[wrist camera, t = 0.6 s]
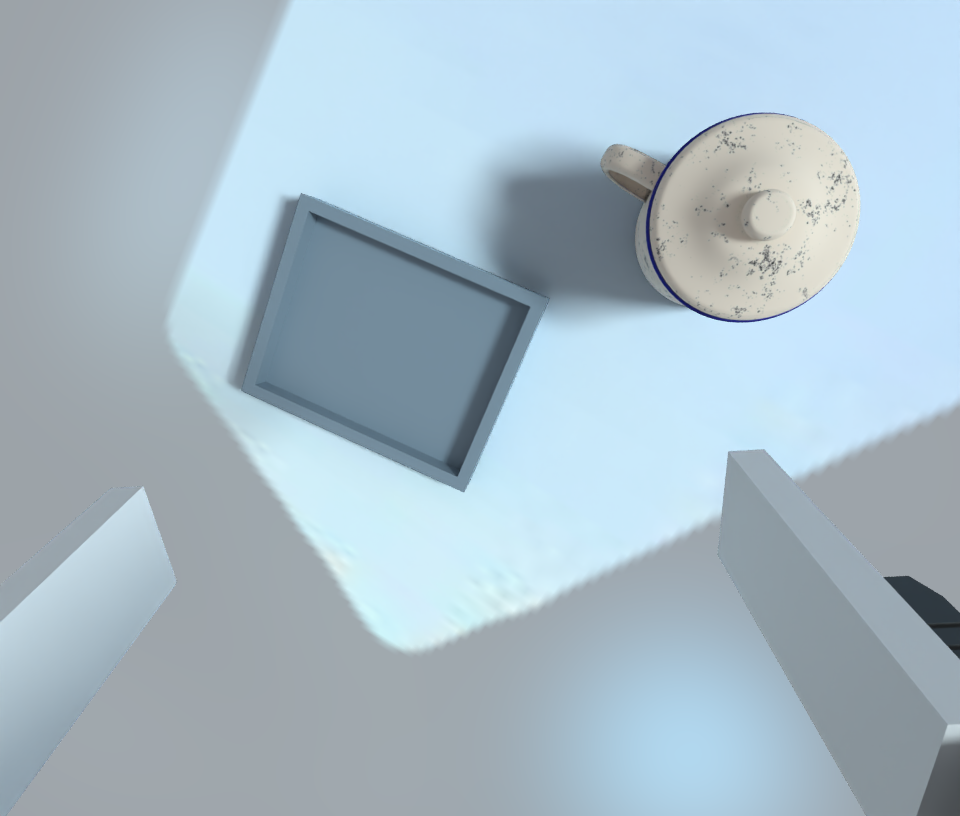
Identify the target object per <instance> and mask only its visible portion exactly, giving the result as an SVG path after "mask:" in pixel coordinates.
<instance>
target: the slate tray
mask: <svg viewBox="0 0 960 816" xmlns="http://www.w3.org/2000/svg"><path fill="white" fill-rule="evenodd" d="M549 299H550V298H548V297H545V296H543V295H541V294H538V293H536V292H534V291H531V290H529V289H527V288H524V287H522V286H520V285H517V284H515V283H513V282H510V281H508V280H506V279H503V278H501V277H499V276H496V275H494V274H492V273H489V272H487V271H485V270H482V269H480V268H478V267H475V266H473V265H471V264H468V263H466V262H464V261H461V260H459V259H457V258H455V257H452V256H450V255H448V254H445V253H443V252H441V251H438V250H436V249H434V248H431V247H429V246H427V245H424V244H422V243H420V242H417V241H415V240H413V239H410V238H408V237H406V236H403V235H401V234H399V233H396V232H394V231H392V230H389V229H387V228H385V227H382V226H380V225H378V224H375V223H373V222H371V221H368V220H366V219H364V218H361V217H359V216H357V215H354V214H352V213H350V212H347V211H345V210H343V209H340V208H338V207H336V206H333V205H331V204H329V203H326V202H324V201H322V200H320V199H317V198H315V197H312V196H308V195H305V194H302V193H301V195H300V198H299V201H298V205H297V208H296V211H295V214H294V218H293V221H292V224H291V228H290V231H289V234H288V238H287V241H286V244H285V247H284V251H283V254H282V257H281V261H280V264H279V267H278V271H277V274H276V277H275V281H274V284H273V287H272V290H271V294H270V297H269V300H268V304H267V307H266V310H265V314H264V317H263V320H262V323H261V327H260V330H259V333H258V337H257V340H256V343H255V347H254V350H253V353H252V356H251V360H250V363H249V366H248V370H247V373H246V376H245V380H244V383H243V386H242V389H241V391H243V392H245V393H247V394H249V395H251V396H254V397H256V398H258V399H260V400H262V401H265V402H267V403H269V404H271V405H273V406H276V407H278V408H280V409H282V410H284V411H287V412H289V413H291V414H293V415H295V416H298V417H300V418H302V419H304V420H306V421H308V422H311V423H313V424H315V425H317V426H319V427H322V428H324V429H326V430H328V431H330V432H333V433H335V434H337V435H339V436H341V437H344V438H346V439H348V440H350V441H352V442H354V443H357V444H359V445H361V446H363V447H365V448H368V449H370V450H372V451H374V452H376V453H379V454H381V455H383V456H385V457H387V458H390V459H392V460H394V461H396V462H398V463H400V464H403V465H405V466H407V467H409V468H411V469H414V470H416V471H418V472H420V473H422V474H425V475H427V476H429V477H431V478H433V479H436V480H438V481H440V482H442V483H444V484H446V485H449V486H451V487H453V488H455V489H457V490H460V491H462V492H465V490H466V488H467V486H468V484H469V482H470V480H471V477H472V475H473V473H474V471H475V468H476V466H477V464H478V461H479V459H480V457H481V455H482V452H483V450H484V448H485V445H486V443H487V441H488V439H489V436H490V434H491V432H492V429H493V427H494V425H495V423H496V420H497V418H498V416H499V413H500V411H501V409H502V406H503V404H504V402H505V400H506V397H507V395H508V393H509V390H510V388H511V386H512V384H513V381H514V379H515V377H516V374H517V372H518V370H519V368H520V365H521V363H522V361H523V358H524V356H525V354H526V352H527V349H528V347H529V345H530V342H531V340H532V338H533V336H534V333H535V331H536V329H537V326H538V324H539V322H540V320H541V317H542V315H543V313H544V310H545V308H546V306H547V304H548V301H549Z"/></svg>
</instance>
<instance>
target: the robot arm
mask: <svg viewBox="0 0 960 816" xmlns="http://www.w3.org/2000/svg"><path fill="white" fill-rule="evenodd" d="M718 557H719V558H720V560H721V562H722V564H723V565H724V567H725V569H726V571H727V572H728V574H729V576H730V578H731V579H732V581H733V583H734V585H735V586H736V588H737V590H738V592H739V593H740V595H741V597H742V599H743V600H744V602H745V604H746V606H747V607H748V609H749V611H750V613H751V614H752V616H753V618H754V620H755V622H756V623H757V625H758V627H759V628H760V630H761V632H762V634H763V636H764V637H765V639H766V641H767V643H768V644H769V646H770V648H771V650H772V651H773V653H774V655H775V656H776V658H777V660H778V662H779V663H780V665H781V667H782V669H783V671H784V672H785V674H786V676H787V678H788V680H789V681H790V683H791V684H792V687H793V688H794V690H795V692H796V693H797V695H798V697H799V699H800V701H801V702H802V704H803V706H804V708H805V709H806V711H807V713H808V715H809V716H810V718H811V720H812V722H813V723H814V725H815V727H816V729H817V730H818V732H819V734H820V736H821V737H822V739H823V741H824V742H825V745H826V746H827V748H828V750H829V752H830V753H831V755H832V757H833V759H834V760H835V762H836V764H837V766H838V767H839V769H840V770H841V772H842V774H843V776H844V778H845V780H846V781H847V783H848V785H849V787H850V788H851V790H852V792H853V794H854V795H855V797H856V799H857V801H858V802H859V804H860V806H861V808H862V809H863V811H864V813H865V815H866V816H960V613H959V612H958V611H957V610H956V609H955V608H954V607H953V606H952V605H951V604H950V603H949V602H948V601H947V600H946V599H945V598H944V597H943V596H941V595H939V594H938V593H936V592H934V591H933V590H931V589H929V588H928V587H926V586H924V585H923V584H921V583H919V582H918V581H916V580H914V579H913V578H911V577H909V576H899V577H898V576H897V577H882V575H881V574H880V573H879V572H878V571H877V570H876V569H875V568H874V567H873V566H872V565H871V564H870V563H869V562H868V560H867V559H866V558H865V557H864V556H863V555H862V554H861V553H860V552H859V551H858V550H857V549H856V548H855V546H854V545H853V544H852V543H851V542H850V541H849V540H848V539H847V538H846V537H845V536H844V535H843V534H842V533H841V532H840V531H839V529H838V528H837V527H836V526H835V525H834V524H833V523H832V522H831V521H830V520H829V519H828V518H827V517H826V515H825V514H824V513H823V512H822V511H821V510H820V509H819V508H818V507H817V506H816V505H815V504H814V503H813V501H812V500H811V499H810V498H809V497H808V496H807V495H806V494H805V493H804V492H803V491H802V490H801V489H800V487H799V486H798V485H797V484H796V483H795V482H794V481H793V480H792V479H791V478H790V477H789V476H788V475H787V474H786V472H785V471H784V470H783V469H782V468H781V467H780V466H779V465H778V464H777V463H776V462H775V461H774V460H773V458H772V457H771V456H770V455H769V454H768V453H767V452H766V451H765V450H747V451H730V452H728V459H727V469H726V478H725V488H724V497H723V507H722V517H721V527H720V536H719V545H718ZM176 583H177V580H176V578H175V575H174V572H173V569H172V566H171V563H170V561H169V558H168V555H167V552H166V549H165V546H164V544H163V541H162V538H161V535H160V532H159V529H158V527H157V524H156V521H155V518H154V515H153V513H152V510H151V507H150V504H149V501H148V499H147V495H146V493H145V490H144V487H143V486H137V487H121V488H110V489H109V490H108V491H107V492H106V493H105V494H103V495H102V496H101V497H100V498H99V499H98V500H96V502H94V503H93V504H92V505H91V506H90V507H89V508H87V509H86V510H85V511H84V512H83V513H82V514H81V515H79V516H78V517H77V518H76V519H75V520H74V521H73V522H71V523H70V524H69V525H68V526H67V527H66V528H65V529H63V530H62V531H61V532H60V533H59V534H58V535H57V536H55V537H54V538H53V539H52V540H51V541H50V542H49V543H47V544H46V545H45V546H44V547H43V548H42V549H41V550H39V552H37V553H36V554H35V555H34V556H33V557H31V559H29V560H28V561H27V562H26V563H25V564H24V565H22V566H21V567H20V568H19V569H18V570H17V571H16V572H14V574H12V575H11V576H10V577H9V578H8V579H6V580H5V581H4V582H3V583H2V584H1V585H0V816H7V814H8V813H9V812H10V810H11V809H12V807H13V806H14V805H15V803H16V802H17V801H18V799H19V798H20V797H21V795H22V794H23V792H24V791H25V789H26V788H27V787H28V785H29V784H30V783H31V781H32V780H33V779H34V777H35V776H36V775H37V773H38V772H39V771H40V769H41V768H42V767H43V765H44V764H45V762H46V761H47V760H48V758H49V757H50V755H51V754H52V753H53V751H54V750H55V749H56V747H57V746H58V745H59V743H60V742H61V741H62V739H63V738H64V736H65V735H66V734H67V732H68V731H69V730H70V728H71V727H72V725H73V724H74V723H75V721H76V720H77V719H78V717H79V716H80V715H81V713H82V712H83V711H84V709H85V708H86V706H87V705H88V704H89V702H90V701H91V700H92V698H93V697H94V696H95V694H96V693H97V691H98V690H99V689H100V687H101V686H102V684H103V683H104V682H105V681H106V679H107V678H108V676H109V675H110V674H111V672H112V671H113V669H114V668H115V667H116V665H117V664H118V663H119V661H120V660H121V659H122V657H123V656H124V655H125V653H126V652H127V650H128V649H129V648H130V646H131V645H132V644H133V642H134V641H135V639H136V638H137V637H138V635H139V634H140V633H141V631H142V630H143V629H144V627H145V626H146V624H147V623H148V622H149V620H150V619H151V618H152V616H153V615H154V614H155V612H156V611H157V610H158V608H159V607H160V605H161V604H162V603H163V601H164V600H165V599H166V597H167V596H168V594H169V593H170V592H171V590H172V589H173V588H174V586H175V585H176Z"/></svg>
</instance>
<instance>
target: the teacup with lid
mask: <svg viewBox="0 0 960 816" xmlns="http://www.w3.org/2000/svg"><path fill="white" fill-rule="evenodd" d="M600 164H601V168H602V170H603V172H604V173H605V175H606V176H607V177H608V178H609V179H610V180H611V181H612V182H614V183H615V184H616V185H617V186H619V187H620V188H622V189H623V190H625V191H626V192H628V193H629V194H631V195H632V196H634V197H636V198H637V199H639V200H641V201H643V202H644V204H643V206H642V208H641V210H640V213H639V216H638V219H637V224H636V230H635V249H636V255H637V259H638V262H639V265H640V267H641V270H642V272H643V274H644V275H645V277H646V278H647V280H648V281H649V283H650V284H651V285H652V286H653V287H654V288H655V289H656V290H657V291H658V292H659V293H660V294H662V295H663V296H664V297H666V298H667V299H669V300H671V301H673V302H675V303H677V304H680V305H683V306H686V307H688V308H689V309H691V310H693V311H695V312H697V313H699V314H701V315H704V316H706V317H709V318H712V319H716V320H721V321H726V322H755V321H761V320H766V319H770V318H774V317H777V316H780V315H782V314H785V313H787V312H789V311H791V310H793V309H795V308H797V307H799V306H801V305H802V304H804V303H805V302H807V301H808V300H810V299H811V298H812V297H814V296H815V295H816V294H817V293H818V292H820V291H821V290H822V289H823V288H824V287H825V286H826V285H827V284H828V283H829V282H830V281H831V279H832V278H833V277H834V276H835V274H836V273H837V272H838V270H839V269H840V267H841V266H842V264H843V263H844V261H845V259H846V258H847V256H848V254H849V252H850V250H851V247H852V245H853V242H854V239H855V236H856V233H857V229H858V224H859V217H860V194H859V187H858V182H857V179H856V176H855V173H854V170H853V168H852V165H851V163H850V161H849V160H848V158H847V156H846V155H845V153H844V152H843V150H842V149H841V148H840V146H839V145H838V144H837V143H836V142H835V141H834V140H833V139H832V138H831V137H830V136H829V135H827V134H826V133H825V132H824V131H822V130H821V129H819V128H817V127H816V126H814V125H812V124H810V123H808V122H806V121H804V120H801V119H798V118H796V117H792V116H788V115H784V114H777V113H751V114H745V115H740V116H736V117H732V118H729V119H726V120H724V121H721V122H719V123H716V124H714V125H712V126H710V127H708V128H707V129H705V130H703V131H702V132H700V133H699V134H697V135H696V136H695V137H693V138H692V139H690V140H689V141H688V142H687V143H686V144H685V145H684V146H682V148H681V149H680V150H679V151H678V152H677V153H676V154H675V155H674V156H673V157H672V159H671V160H670V161H669V162H668V164H667V165H666V166H665V165H664V164H662V163H660V162H659V161H657V160H655V159H653V158H652V157H650V156H648V155H646V154H644V153H642V152H640V151H638V150H636V149H633V148H631V147H628V146H624V145H620V144H615V145H612V146H610V147H609V148H608V149H607V150H606V152H605V153H604V155H603V157H602V159H601V163H600Z"/></svg>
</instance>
